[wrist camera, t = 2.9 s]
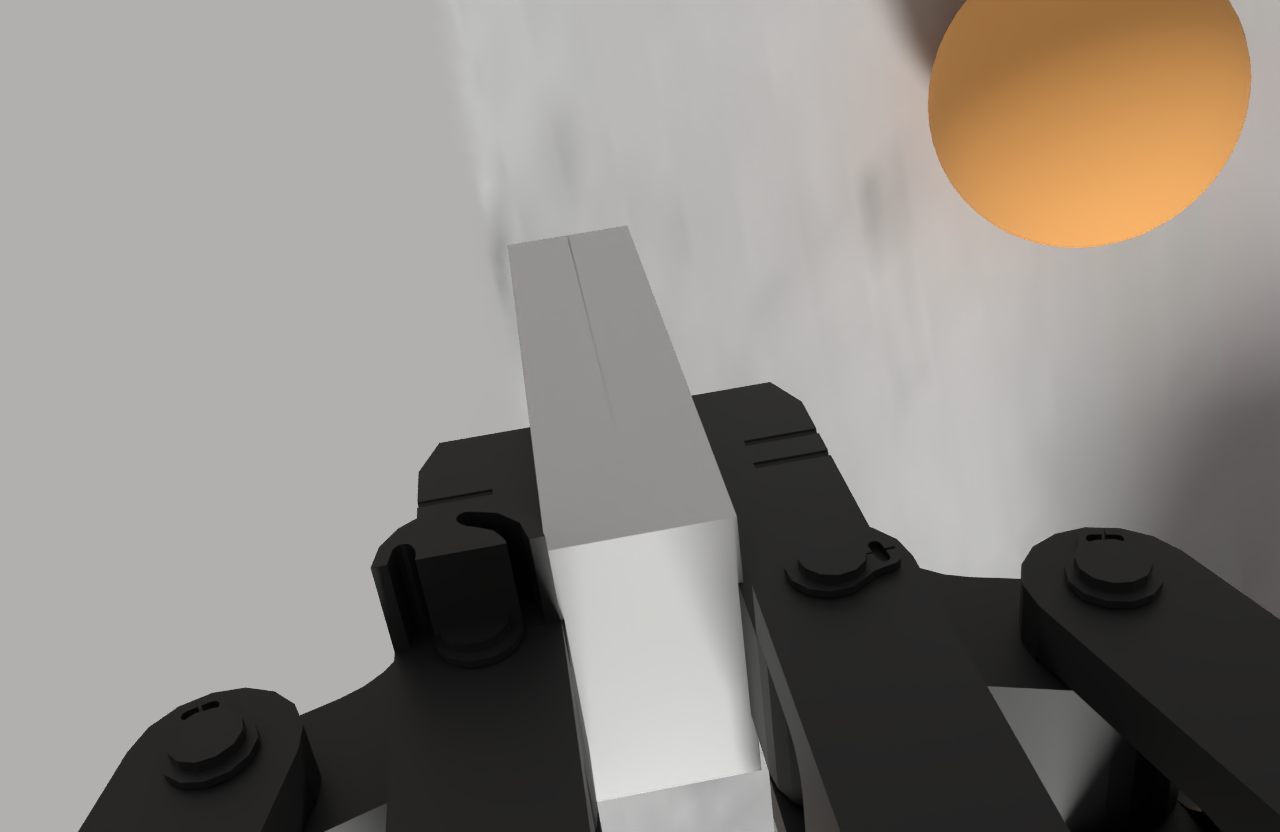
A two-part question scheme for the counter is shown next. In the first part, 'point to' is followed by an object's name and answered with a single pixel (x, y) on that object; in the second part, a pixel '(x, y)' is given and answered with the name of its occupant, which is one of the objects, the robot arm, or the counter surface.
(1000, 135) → the ball
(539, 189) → the counter surface
